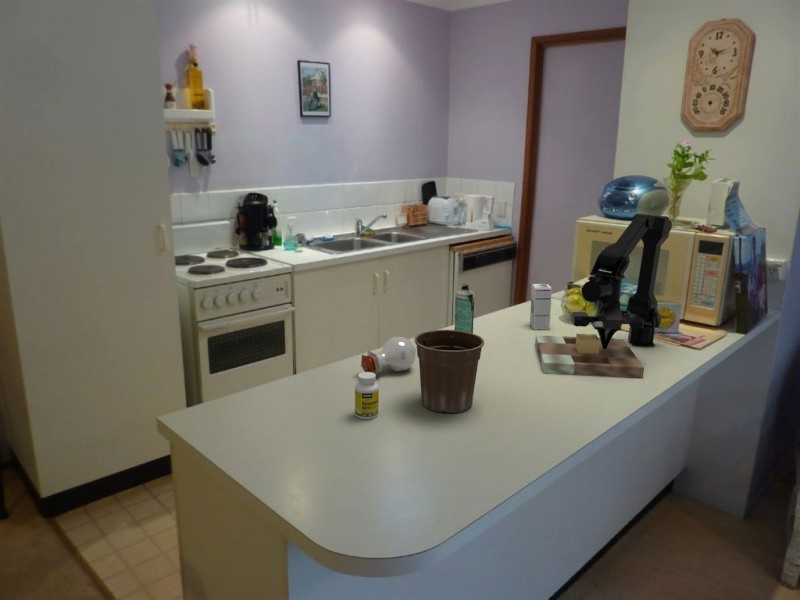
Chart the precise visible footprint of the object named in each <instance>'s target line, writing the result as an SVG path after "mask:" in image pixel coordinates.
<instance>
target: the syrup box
mask: <svg viewBox="0 0 800 600" xmlns="http://www.w3.org/2000/svg"><path fill="white" fill-rule="evenodd" d="M552 289H553V287H552V286H550V284H548V283H534V284H533V283H532V284H531V294H530V295H531V297H530V299H531V300H530V301H531V302H530V317H529V319H530V320H529V326H530V325H531V326H530V327H531V329H532V330H533V329H541V330H540V331H550V325H551V311H552V310H551V308H552V293H553V292H552V291H553V290H552Z"/></svg>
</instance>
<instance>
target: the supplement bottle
mask: <svg viewBox="0 0 800 600" xmlns="http://www.w3.org/2000/svg"><path fill="white" fill-rule="evenodd" d="M376 379H377V375H375V374H374V373H372V372H365V371H362V372H360V373H358V374H357V381H358V382H356V383H355V386H354V416H356V417H357V418H358V419H361V420H372V419H375V418H378V417H377V416H378V415H379V394H380V393H379V392H380V391H379V390H380V388H379V386H380V385H378V383H377V382H376Z"/></svg>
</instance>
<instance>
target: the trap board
mask: <svg viewBox="0 0 800 600" xmlns="http://www.w3.org/2000/svg"><path fill="white" fill-rule="evenodd" d="M598 338H599V340H600V337H598ZM534 343H535V344H534V346H535V345H536V346H535V348H536V353H537V356H538V359H539V362H540V366H541V369H542V373H543V374H554V375H555V374H557V375H573V376H574V375H575V376H589V377H591V376H592V377H593V376H596V377H612V378H629V379H631V378H632V379H643V378H644V372H645V367H644V365H643V364H642V363H641V361H640V360H639V358H638V357H637V356H636V355H635V353H634V352H633V350H632V348H631V347H630V346H629V345H628V343H627V342H626V340H625V339H624V338H611V340H610V342H609V344H608V346H607V348H606V349H603V348H602V344H601V341H600V346H599V354H587V353H578V351H577V349H576V347H575V346H576V336H564V335H563V336H561V335H542V334H541V335H539V334H536V335H535V341H534Z"/></svg>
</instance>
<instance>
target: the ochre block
mask: <svg viewBox="0 0 800 600" xmlns="http://www.w3.org/2000/svg"><path fill="white" fill-rule="evenodd" d="M575 337H576V346H575V347H576V349H577V351H578V353H587V354H599V346H600V340H599V338H600V337H598V335H597V334H595V333H576V336H575Z"/></svg>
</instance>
